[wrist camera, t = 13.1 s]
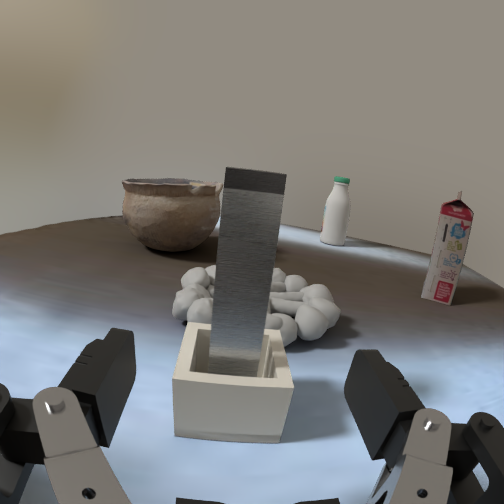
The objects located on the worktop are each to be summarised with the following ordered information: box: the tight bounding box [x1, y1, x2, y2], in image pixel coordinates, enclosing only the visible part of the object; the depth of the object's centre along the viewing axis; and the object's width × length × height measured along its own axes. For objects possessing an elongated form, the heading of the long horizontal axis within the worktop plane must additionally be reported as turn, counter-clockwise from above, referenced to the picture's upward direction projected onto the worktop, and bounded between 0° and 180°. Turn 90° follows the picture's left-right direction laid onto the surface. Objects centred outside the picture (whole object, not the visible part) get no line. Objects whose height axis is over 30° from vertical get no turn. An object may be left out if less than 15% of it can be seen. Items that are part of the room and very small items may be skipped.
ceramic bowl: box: [122, 178, 223, 252], centre depth 68 cm, size 22×22×15 cm
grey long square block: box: [208, 167, 286, 377], centre depth 22 cm, size 4×4×18 cm
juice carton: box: [421, 191, 474, 305], centre depth 54 cm, size 7×7×22 cm
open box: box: [172, 322, 294, 443], centre depth 24 cm, size 8×8×6 cm
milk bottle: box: [320, 177, 351, 246], centre depth 92 cm, size 8×8×20 cm
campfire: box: [172, 265, 341, 347], centre depth 42 cm, size 22×21×6 cm
